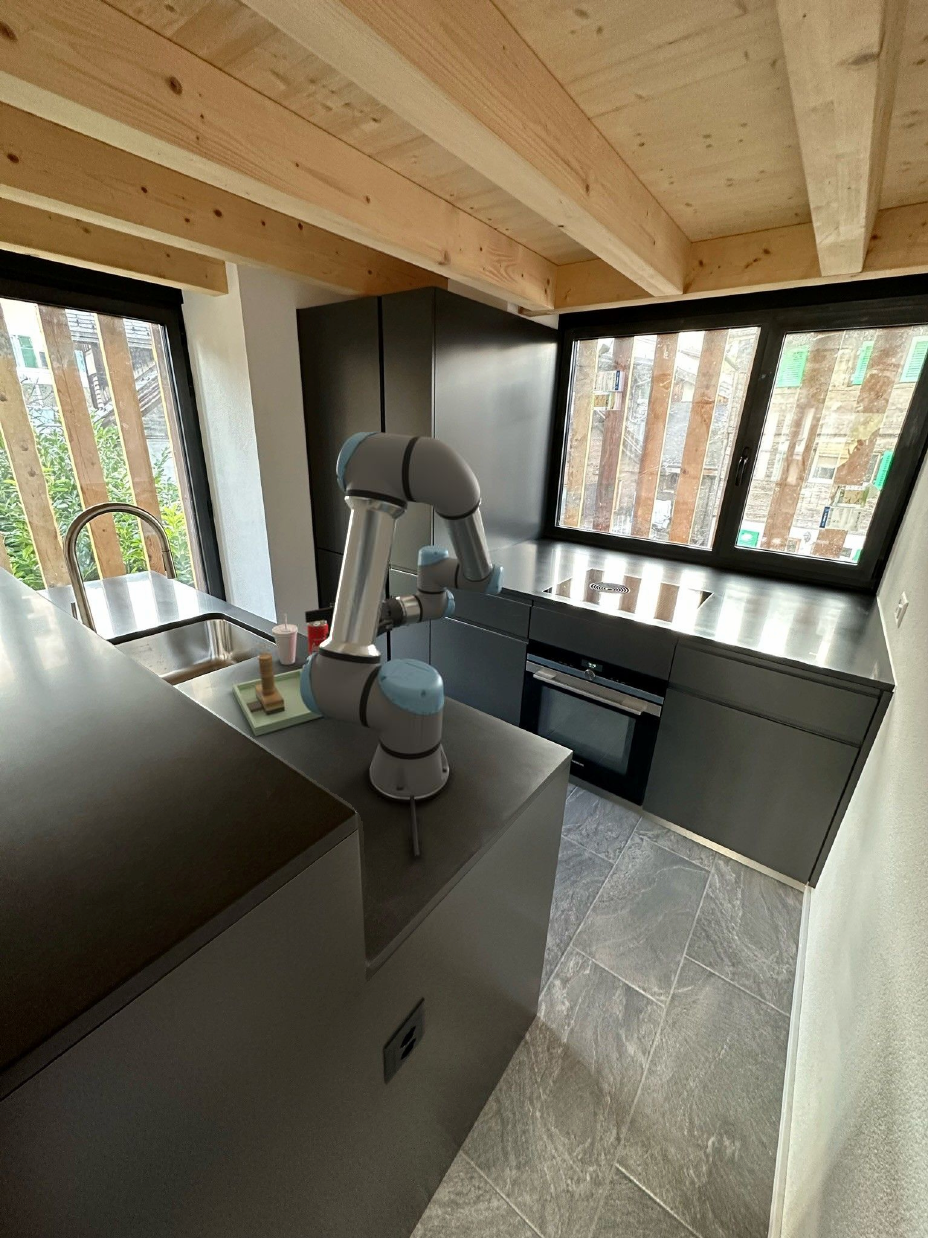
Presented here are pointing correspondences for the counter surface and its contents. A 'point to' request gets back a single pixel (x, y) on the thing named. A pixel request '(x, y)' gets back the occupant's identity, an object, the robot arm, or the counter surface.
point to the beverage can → (316, 635)
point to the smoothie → (286, 641)
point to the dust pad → (254, 706)
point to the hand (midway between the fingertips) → (315, 627)
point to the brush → (268, 687)
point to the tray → (292, 702)
